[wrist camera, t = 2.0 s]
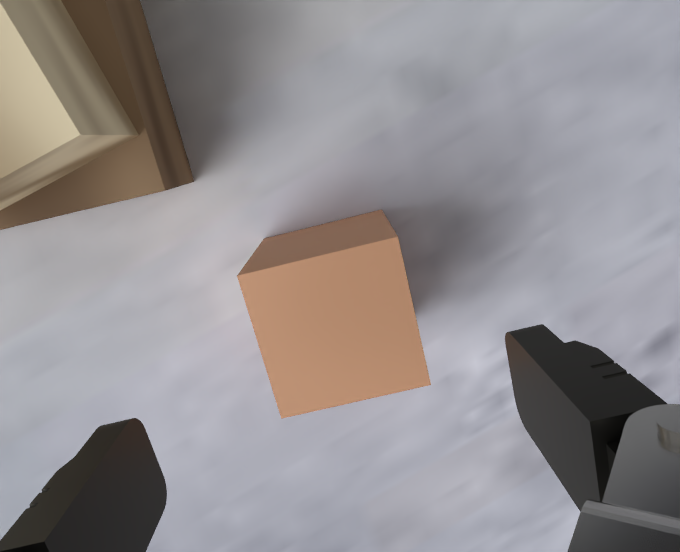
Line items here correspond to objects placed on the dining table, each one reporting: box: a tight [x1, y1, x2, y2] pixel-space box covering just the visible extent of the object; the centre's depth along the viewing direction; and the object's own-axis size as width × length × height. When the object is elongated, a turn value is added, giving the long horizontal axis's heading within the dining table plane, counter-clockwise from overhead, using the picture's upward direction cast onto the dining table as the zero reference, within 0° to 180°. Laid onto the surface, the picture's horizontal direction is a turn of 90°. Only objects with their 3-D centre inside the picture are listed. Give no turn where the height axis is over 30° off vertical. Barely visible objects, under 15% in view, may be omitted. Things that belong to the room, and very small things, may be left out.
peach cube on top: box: [237, 210, 431, 419], centre depth 19 cm, size 5×5×6 cm
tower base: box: [0, 0, 194, 230], centre depth 18 cm, size 9×9×4 cm
